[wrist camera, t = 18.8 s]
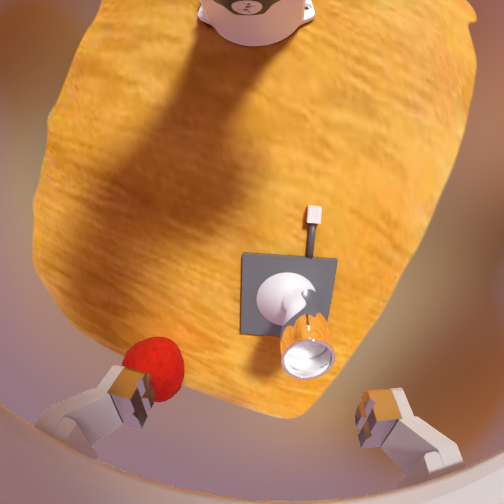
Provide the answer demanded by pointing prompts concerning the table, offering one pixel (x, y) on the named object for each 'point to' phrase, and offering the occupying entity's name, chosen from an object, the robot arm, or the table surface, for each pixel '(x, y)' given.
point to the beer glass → (305, 336)
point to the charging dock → (283, 283)
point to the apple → (158, 365)
